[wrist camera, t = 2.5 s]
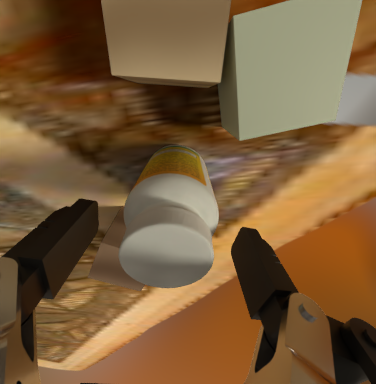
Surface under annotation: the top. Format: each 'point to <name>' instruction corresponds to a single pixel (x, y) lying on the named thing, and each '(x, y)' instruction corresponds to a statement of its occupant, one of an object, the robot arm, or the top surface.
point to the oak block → (167, 40)
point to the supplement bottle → (170, 220)
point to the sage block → (285, 66)
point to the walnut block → (113, 257)
